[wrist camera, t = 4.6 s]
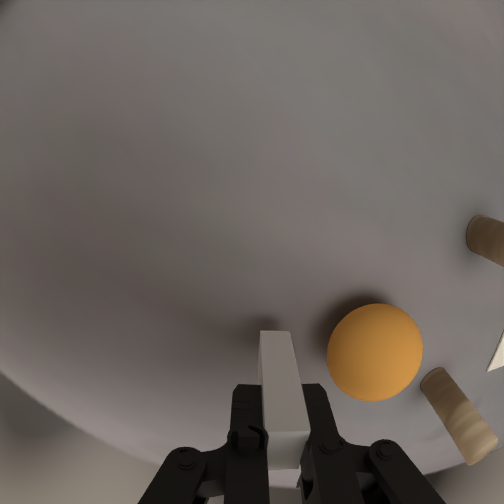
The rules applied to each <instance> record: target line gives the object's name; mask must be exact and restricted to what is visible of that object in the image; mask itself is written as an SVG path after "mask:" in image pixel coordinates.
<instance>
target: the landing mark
mask: <svg viewBox="0 0 504 504" xmlns="http://www.w3.org/2000/svg"><path fill="white" fill-rule="evenodd" d="M501 366H504V332H503V334H502V337H501V339H500V342H499V344H498V346H497V349H496V351H495V353H494V355H493V358H492V360H491V362H490V364H489V366H488V368H487V370H486V371H487V372H488V371H490V370H493V369H496V368H499V367H501Z"/></svg>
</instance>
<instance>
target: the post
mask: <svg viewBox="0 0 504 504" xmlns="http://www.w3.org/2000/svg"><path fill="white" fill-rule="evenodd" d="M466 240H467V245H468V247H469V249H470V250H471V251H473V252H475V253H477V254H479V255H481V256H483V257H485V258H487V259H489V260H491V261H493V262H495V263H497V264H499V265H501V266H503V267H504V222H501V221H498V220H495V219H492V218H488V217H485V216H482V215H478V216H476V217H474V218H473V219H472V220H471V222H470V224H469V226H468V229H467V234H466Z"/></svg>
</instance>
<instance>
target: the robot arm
mask: <svg viewBox="0 0 504 504" xmlns="http://www.w3.org/2000/svg"><path fill="white" fill-rule="evenodd" d="M257 373H258V385H246V384H238V385H237V387H236V388H235V389H234V391H233V396H232V409H231V421H230V430H229V432H228V435H227V442H226V444H224V445H223V446H222V447H220V448H218V449H216V450H212V451H206V452H200V451H199V450H197V449H195V448H192V447H179V448H177V449H174V450H172V451H171V452H170V453H169V454H168V456H167V457H166V459H165V461H164V462H163V464H162V465H161V467H160V469H159V471H158V472H157V474H156V475H155V477H154V479H153V480H152V482H151V483H150V485H149V486H148V488H147V490H146V492H145V493H144V494H143V496H142V498H141V499H140V501H139V502H138V504H207V502H208V500H209V498H210V497H214V496H220V495H224V504H270V502H269V501H270V500H269V480H268V470H277V469H298V468H299V465H301V474H300V477H299V479H298V482H297V486H296V488H299V487H300V488H301V496H302V504H446V503H445V502H444V501H443V499H442V498H441V497H440V496H439V494H438V493H437V492H436V491H435V489H434V488H433V487H432V486H431V484H430V483H429V482H428V481H427V480H426V478H425V477H424V476H423V475H422V473H421V472H420V471H419V470H418V468H417V467H416V466H415V465H414V463H413V462H412V461H411V460H410V458H409V457H408V456H407V455H406V453H405V452H404V451H403V450H402V448H401V447H400V446H399V445H398V444H397V443H396V442H394V441H391V440H385V439H382V440H378V441H376V442H374V443H373V444H372V445H371V446H360V445H354V444H350V443H348V442H346V441H345V439H343V438H342V437H341V436H340V435H339V433H338V430H337V427H336V423H335V420H334V417H333V413H332V410H331V408H330V403H329V401H328V397H327V393H326V391H325V390H324V388H323V387H322V386H321V385H320V384H319V383H318V384H301V381H300V376H299V371H298V367H297V362H296V357H295V353H294V348H293V344H292V339H291V335H290V331H260V343H259V357H258V371H257Z"/></svg>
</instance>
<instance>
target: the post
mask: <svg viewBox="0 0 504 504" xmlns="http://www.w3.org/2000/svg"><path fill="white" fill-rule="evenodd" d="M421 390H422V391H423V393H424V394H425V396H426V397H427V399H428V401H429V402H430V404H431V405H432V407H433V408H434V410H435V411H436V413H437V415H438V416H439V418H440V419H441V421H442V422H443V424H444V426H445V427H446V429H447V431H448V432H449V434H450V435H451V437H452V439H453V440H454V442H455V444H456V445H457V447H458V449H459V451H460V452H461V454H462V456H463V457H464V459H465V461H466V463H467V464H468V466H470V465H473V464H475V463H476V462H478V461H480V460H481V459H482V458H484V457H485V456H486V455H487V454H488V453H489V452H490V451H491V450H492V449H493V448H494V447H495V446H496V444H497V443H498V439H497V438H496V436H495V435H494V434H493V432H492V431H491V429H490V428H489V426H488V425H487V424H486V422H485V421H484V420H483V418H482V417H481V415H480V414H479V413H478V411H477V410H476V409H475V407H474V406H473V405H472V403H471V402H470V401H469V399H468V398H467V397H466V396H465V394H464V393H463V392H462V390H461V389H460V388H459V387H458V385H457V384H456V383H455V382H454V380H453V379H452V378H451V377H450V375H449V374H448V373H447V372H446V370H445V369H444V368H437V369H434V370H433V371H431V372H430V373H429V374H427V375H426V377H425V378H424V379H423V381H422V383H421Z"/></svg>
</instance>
